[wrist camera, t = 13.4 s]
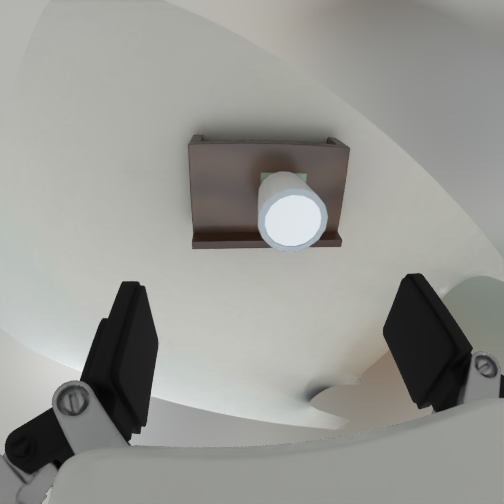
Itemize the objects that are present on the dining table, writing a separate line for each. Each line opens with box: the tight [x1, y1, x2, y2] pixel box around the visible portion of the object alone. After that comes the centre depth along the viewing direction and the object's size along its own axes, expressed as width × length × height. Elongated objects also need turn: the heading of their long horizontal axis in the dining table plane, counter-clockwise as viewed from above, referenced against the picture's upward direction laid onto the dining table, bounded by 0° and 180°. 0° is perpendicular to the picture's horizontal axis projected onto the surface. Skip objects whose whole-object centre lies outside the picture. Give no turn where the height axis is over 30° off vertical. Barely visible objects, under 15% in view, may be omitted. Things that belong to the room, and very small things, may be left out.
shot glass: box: [258, 171, 328, 252], centre depth 33 cm, size 7×7×7 cm
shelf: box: [188, 135, 350, 249], centre depth 37 cm, size 12×18×7 cm, turn 88°
